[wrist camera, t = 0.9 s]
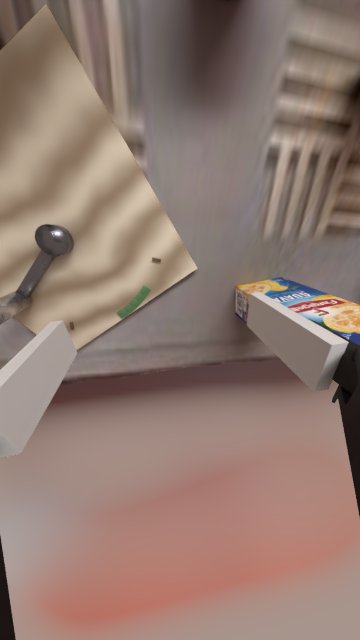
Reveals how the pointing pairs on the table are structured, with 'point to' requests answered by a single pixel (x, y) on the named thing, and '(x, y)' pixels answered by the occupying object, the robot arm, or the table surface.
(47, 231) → the grey long handled part
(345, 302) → the beverage box
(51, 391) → the robot arm
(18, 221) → the dial board
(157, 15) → the table surface
